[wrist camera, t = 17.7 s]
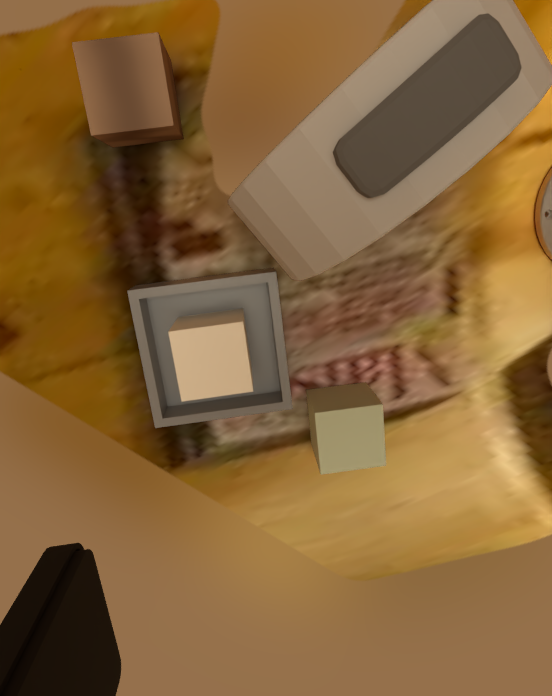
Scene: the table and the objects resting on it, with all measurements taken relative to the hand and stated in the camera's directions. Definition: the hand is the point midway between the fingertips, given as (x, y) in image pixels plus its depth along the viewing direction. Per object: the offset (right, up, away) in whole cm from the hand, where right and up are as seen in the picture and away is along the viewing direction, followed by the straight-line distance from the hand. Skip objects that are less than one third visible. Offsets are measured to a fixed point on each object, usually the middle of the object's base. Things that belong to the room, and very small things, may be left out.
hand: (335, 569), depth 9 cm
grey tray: (-7, +5, +36) cm, 37 cm away
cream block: (-7, +5, +35) cm, 36 cm away
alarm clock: (+5, +21, +33) cm, 39 cm away
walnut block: (-12, +25, +30) cm, 41 cm away
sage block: (+5, -2, +39) cm, 39 cm away
